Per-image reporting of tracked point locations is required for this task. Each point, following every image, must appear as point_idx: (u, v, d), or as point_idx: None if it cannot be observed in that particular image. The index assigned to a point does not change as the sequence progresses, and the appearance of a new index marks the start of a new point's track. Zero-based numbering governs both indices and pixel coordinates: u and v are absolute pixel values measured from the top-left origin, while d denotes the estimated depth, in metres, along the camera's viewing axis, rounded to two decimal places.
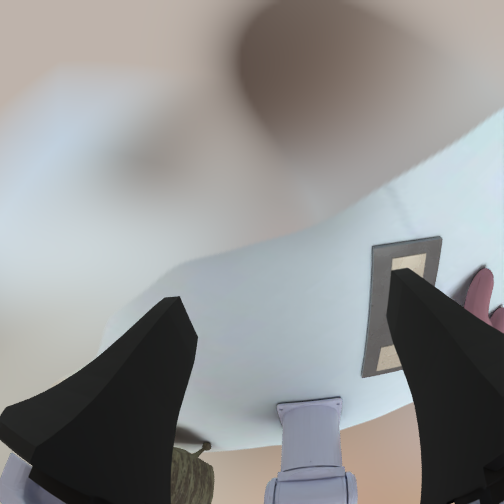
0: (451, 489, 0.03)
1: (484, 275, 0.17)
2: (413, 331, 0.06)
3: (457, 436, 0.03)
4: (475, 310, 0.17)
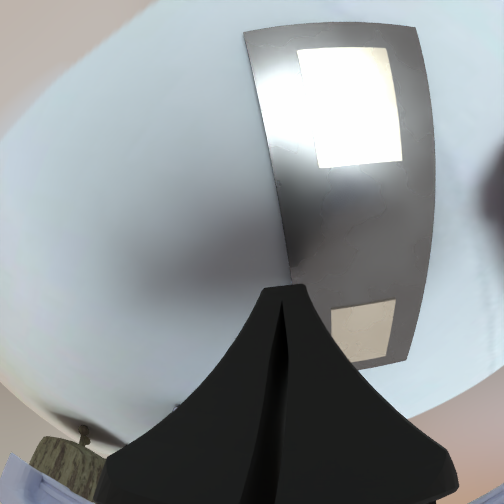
0: None
1: None
2: None
3: None
4: None
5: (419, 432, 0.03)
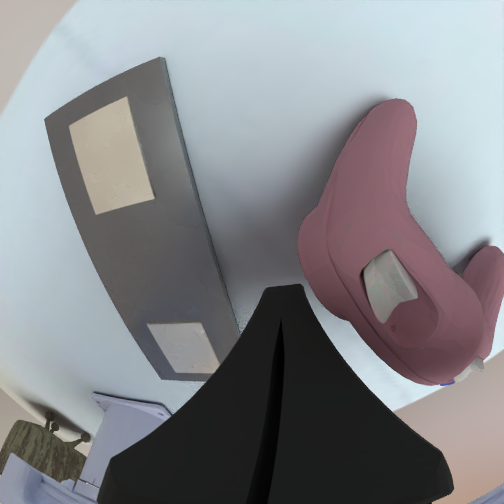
0: None
1: (378, 107, 0.07)
2: None
3: None
4: (341, 189, 0.06)
5: (414, 434, 0.03)
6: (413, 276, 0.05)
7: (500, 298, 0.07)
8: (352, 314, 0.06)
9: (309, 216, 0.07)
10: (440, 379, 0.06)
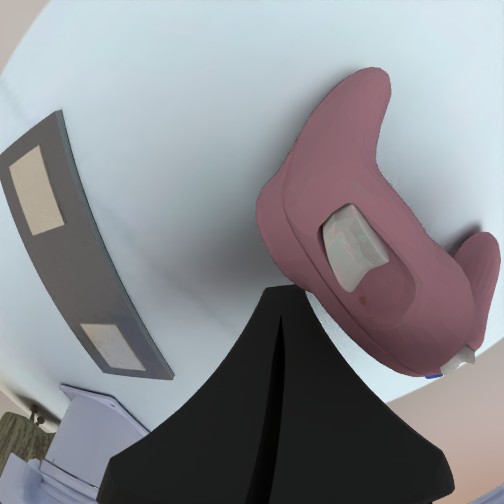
0: None
1: (351, 75, 0.06)
2: None
3: None
4: (301, 146, 0.05)
5: (415, 433, 0.03)
6: (382, 237, 0.05)
7: (493, 285, 0.07)
8: (313, 281, 0.05)
9: (271, 179, 0.06)
10: (423, 368, 0.06)
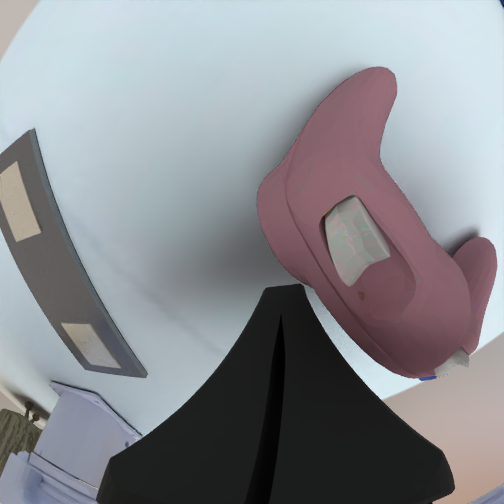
0: None
1: None
2: None
3: None
4: (306, 137, 0.05)
5: (415, 433, 0.03)
6: (384, 232, 0.05)
7: (489, 290, 0.07)
8: (312, 273, 0.05)
9: None
10: (419, 368, 0.06)
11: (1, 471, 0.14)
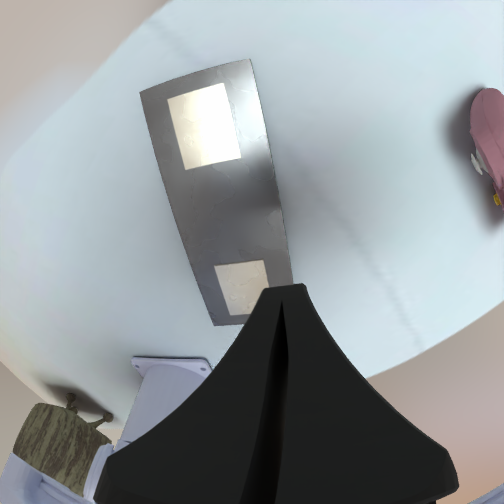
0: None
1: (487, 90, 0.09)
2: None
3: None
4: (490, 117, 0.08)
5: (419, 432, 0.03)
6: None
7: None
8: None
9: (475, 129, 0.09)
10: None
11: None
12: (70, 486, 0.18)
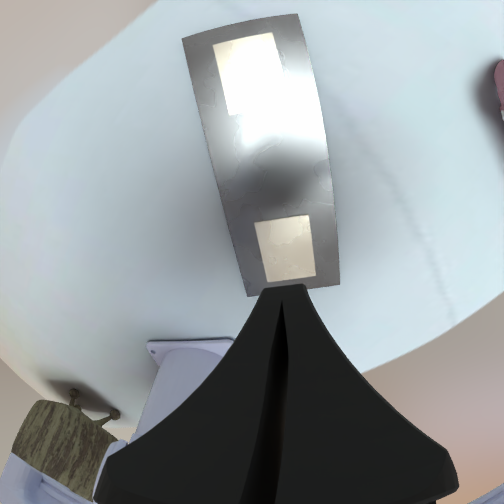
0: None
1: None
2: None
3: None
4: None
5: (419, 432, 0.03)
6: None
7: None
8: None
9: (503, 87, 0.07)
10: None
11: None
12: (74, 490, 0.16)
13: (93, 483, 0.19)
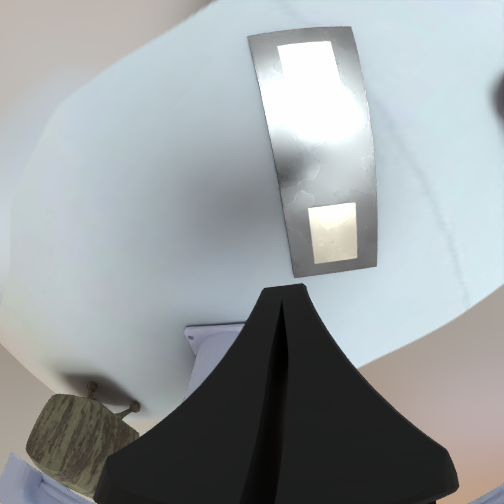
0: None
1: None
2: None
3: None
4: None
5: (419, 432, 0.03)
6: None
7: None
8: None
9: None
10: None
11: (67, 474, 0.16)
12: (96, 486, 0.18)
13: None
